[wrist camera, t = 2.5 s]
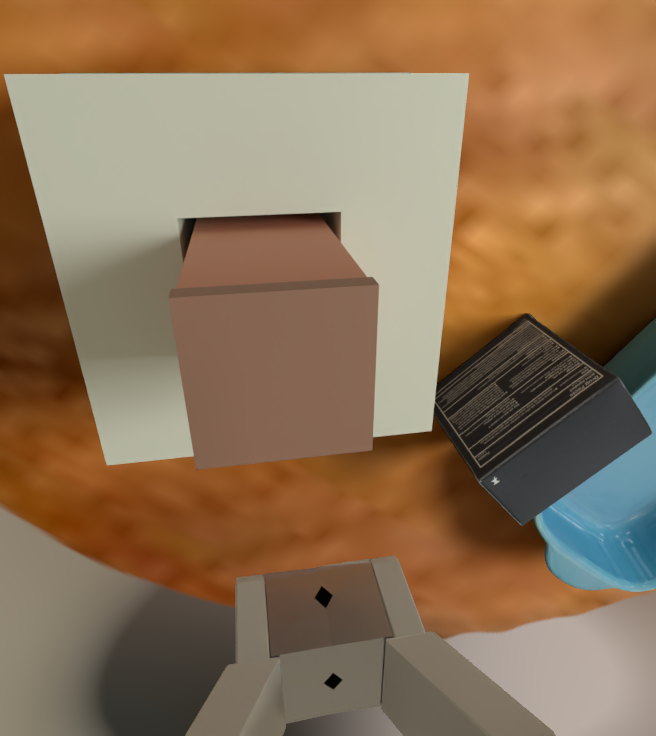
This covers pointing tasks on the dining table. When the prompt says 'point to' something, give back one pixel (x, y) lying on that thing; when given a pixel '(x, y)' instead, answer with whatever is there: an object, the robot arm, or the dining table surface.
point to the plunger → (274, 341)
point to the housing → (237, 198)
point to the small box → (535, 417)
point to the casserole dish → (612, 498)
